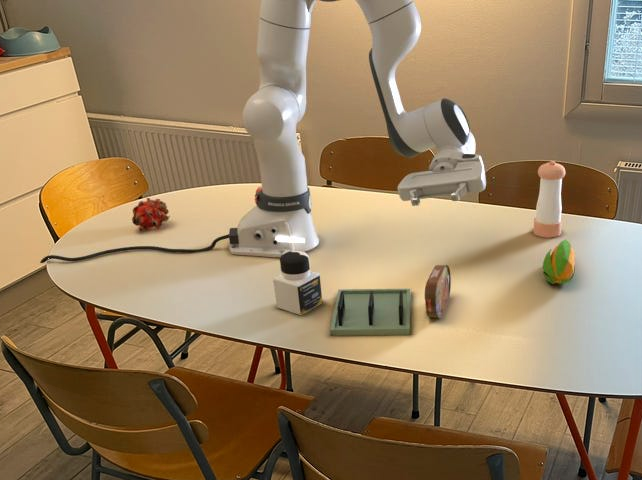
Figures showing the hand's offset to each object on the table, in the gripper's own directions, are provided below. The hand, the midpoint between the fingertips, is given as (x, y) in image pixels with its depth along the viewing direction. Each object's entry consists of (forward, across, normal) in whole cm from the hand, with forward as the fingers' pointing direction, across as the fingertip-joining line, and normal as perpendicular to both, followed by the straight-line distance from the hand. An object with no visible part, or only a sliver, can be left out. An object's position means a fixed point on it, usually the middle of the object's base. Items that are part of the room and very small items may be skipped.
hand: (434, 200), depth 163 cm
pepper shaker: (-31, +17, +29) cm, 46 cm away
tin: (+17, 0, +17) cm, 24 cm away
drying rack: (+23, -12, +13) cm, 29 cm away
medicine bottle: (+23, -28, +10) cm, 37 cm away
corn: (-6, +23, +26) cm, 35 cm away
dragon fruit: (-11, -84, +4) cm, 85 cm away
